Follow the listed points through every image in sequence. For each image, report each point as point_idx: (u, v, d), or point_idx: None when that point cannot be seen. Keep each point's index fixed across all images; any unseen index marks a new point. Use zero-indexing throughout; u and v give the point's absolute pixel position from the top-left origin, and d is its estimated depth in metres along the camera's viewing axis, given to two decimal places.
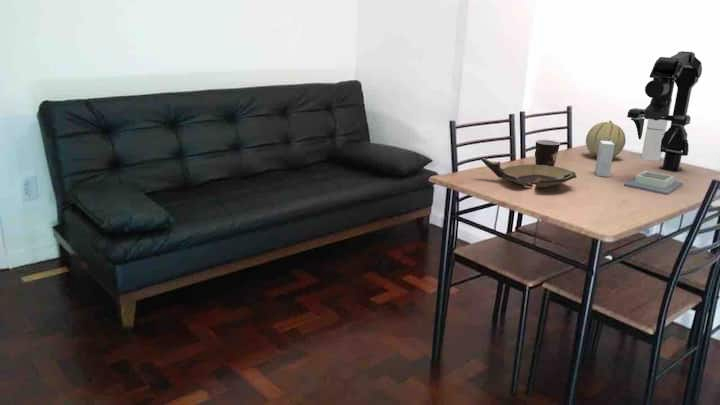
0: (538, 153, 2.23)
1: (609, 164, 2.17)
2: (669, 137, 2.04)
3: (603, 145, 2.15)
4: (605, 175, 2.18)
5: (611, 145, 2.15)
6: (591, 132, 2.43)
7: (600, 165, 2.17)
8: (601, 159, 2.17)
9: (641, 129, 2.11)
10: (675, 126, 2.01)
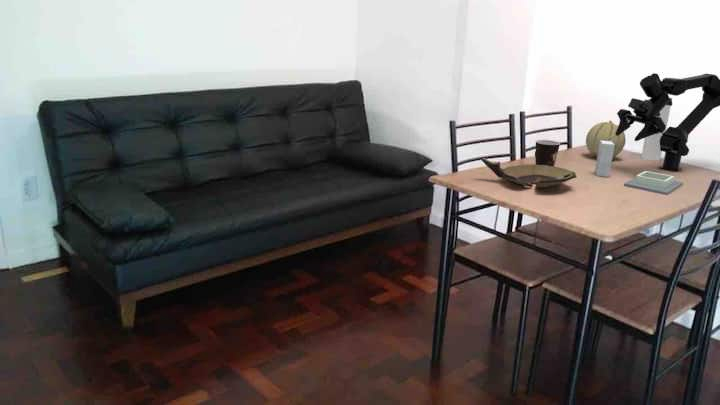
0: (538, 153, 2.23)
1: (609, 164, 2.17)
2: (639, 133, 2.15)
3: (603, 145, 2.15)
4: (605, 175, 2.18)
5: (611, 145, 2.15)
6: (591, 132, 2.43)
7: (600, 165, 2.17)
8: (601, 159, 2.17)
9: (622, 128, 2.24)
10: (648, 122, 2.13)
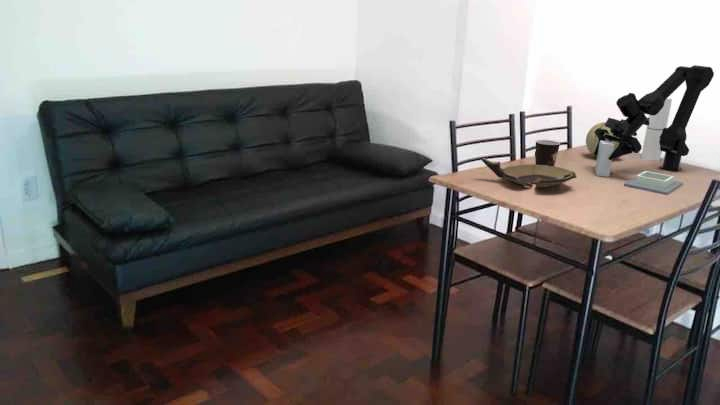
0: (538, 153, 2.23)
1: (609, 164, 2.17)
2: (613, 153, 2.15)
3: (603, 145, 2.15)
4: (605, 175, 2.18)
5: (611, 145, 2.15)
6: (591, 132, 2.43)
7: (600, 165, 2.17)
8: (601, 159, 2.17)
9: None
10: (622, 142, 2.12)
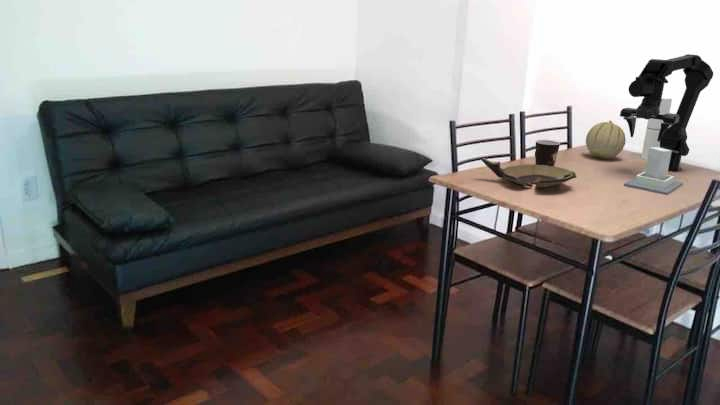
0: (538, 153, 2.23)
1: (666, 171, 2.06)
2: (659, 135, 2.15)
3: (663, 153, 2.03)
4: None
5: (669, 152, 2.04)
6: (591, 132, 2.43)
7: (659, 174, 2.05)
8: (660, 167, 2.05)
9: (633, 127, 2.22)
10: (665, 125, 2.12)
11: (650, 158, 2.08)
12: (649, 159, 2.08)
